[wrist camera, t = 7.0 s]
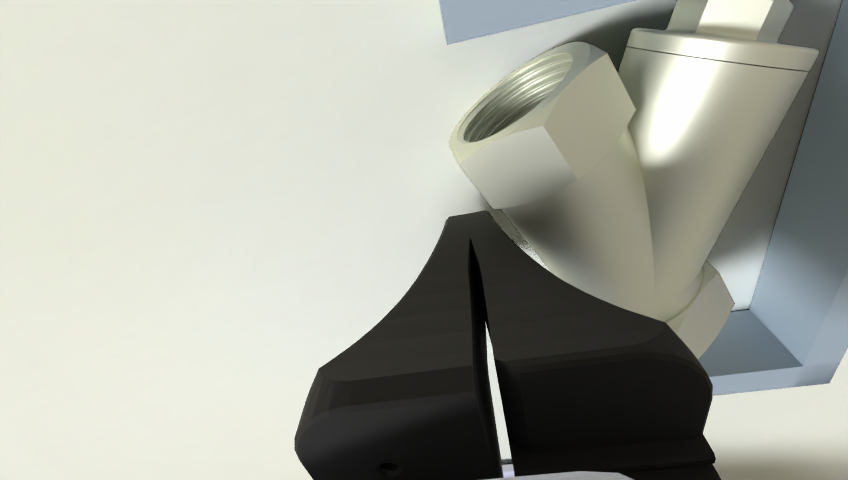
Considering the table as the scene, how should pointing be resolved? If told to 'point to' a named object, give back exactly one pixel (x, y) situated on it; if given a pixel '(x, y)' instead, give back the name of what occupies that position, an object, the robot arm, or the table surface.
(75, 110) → the table surface
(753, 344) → the shaft seat
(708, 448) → the robot arm
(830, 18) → the table surface
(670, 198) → the pipe fitting
